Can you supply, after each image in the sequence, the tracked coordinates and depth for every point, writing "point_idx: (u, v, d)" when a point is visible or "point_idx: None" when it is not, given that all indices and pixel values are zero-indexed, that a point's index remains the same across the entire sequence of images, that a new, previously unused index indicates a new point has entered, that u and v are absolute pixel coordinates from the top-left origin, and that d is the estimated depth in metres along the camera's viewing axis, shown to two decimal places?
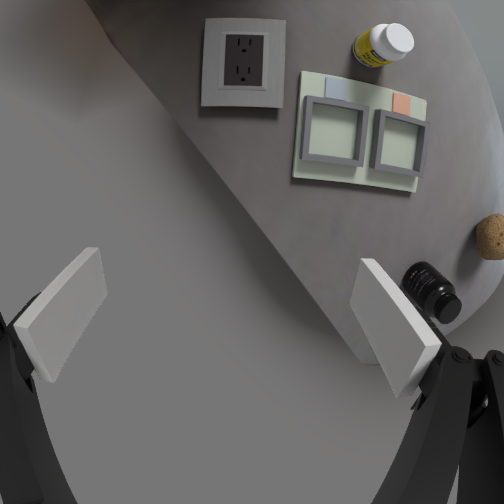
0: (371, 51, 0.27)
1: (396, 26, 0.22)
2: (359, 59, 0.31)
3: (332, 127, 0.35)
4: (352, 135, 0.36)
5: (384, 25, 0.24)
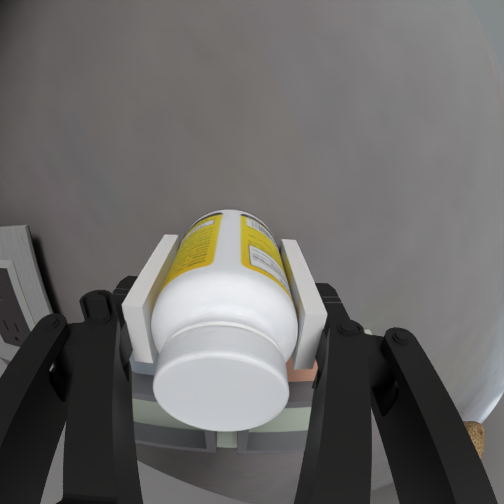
0: None
1: (197, 368, 0.07)
2: None
3: None
4: None
5: (188, 297, 0.09)
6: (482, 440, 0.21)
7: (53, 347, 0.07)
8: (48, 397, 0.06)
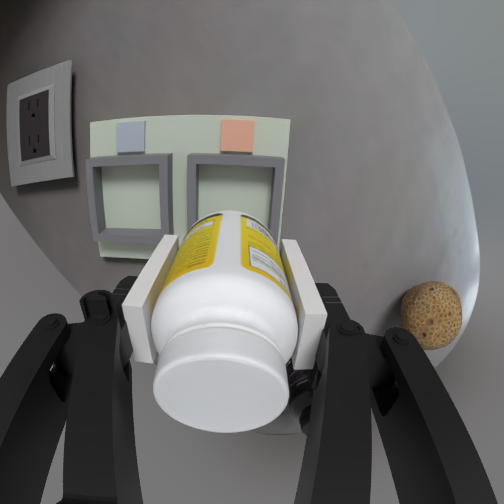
0: None
1: (197, 370, 0.07)
2: None
3: (132, 191, 0.27)
4: (159, 198, 0.28)
5: (188, 298, 0.09)
6: (457, 299, 0.28)
7: (53, 347, 0.07)
8: (48, 397, 0.06)
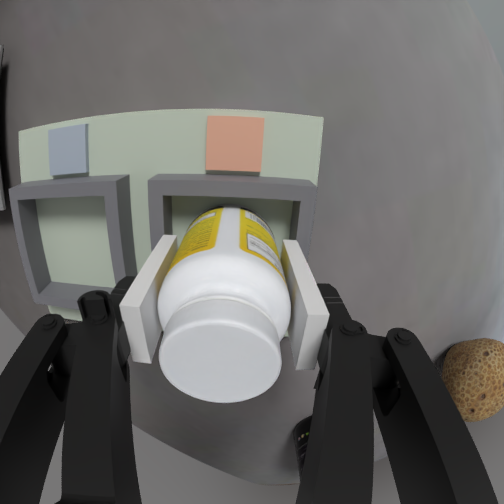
0: None
1: (199, 335, 0.08)
2: None
3: (76, 233, 0.17)
4: None
5: (192, 276, 0.10)
6: None
7: (51, 347, 0.07)
8: (46, 397, 0.06)
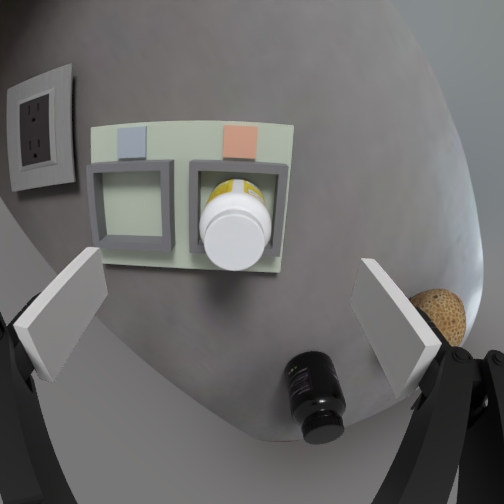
0: None
1: (226, 222, 0.18)
2: None
3: (133, 197, 0.27)
4: (161, 205, 0.27)
5: (221, 203, 0.20)
6: (460, 306, 0.27)
7: None
8: None
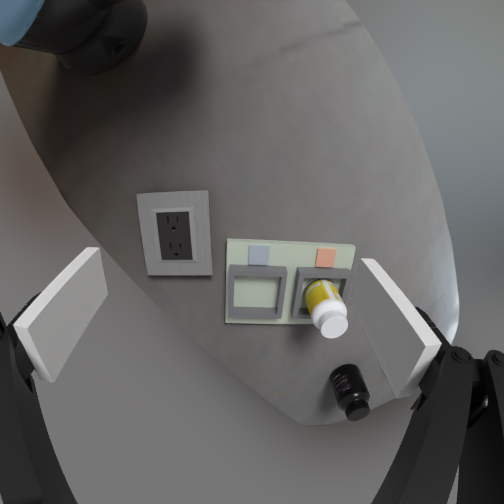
0: None
1: (333, 320, 0.37)
2: None
3: (256, 286, 0.46)
4: (274, 291, 0.47)
5: (326, 306, 0.39)
6: None
7: None
8: None
